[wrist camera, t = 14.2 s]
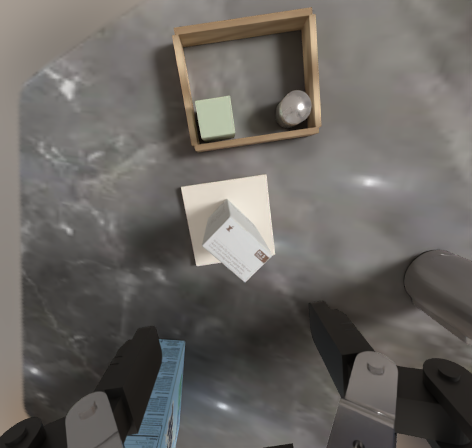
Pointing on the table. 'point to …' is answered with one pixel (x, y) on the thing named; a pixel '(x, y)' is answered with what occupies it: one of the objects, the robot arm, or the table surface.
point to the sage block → (215, 118)
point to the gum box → (163, 402)
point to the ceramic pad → (240, 195)
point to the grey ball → (293, 109)
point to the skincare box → (235, 241)
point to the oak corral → (246, 29)
